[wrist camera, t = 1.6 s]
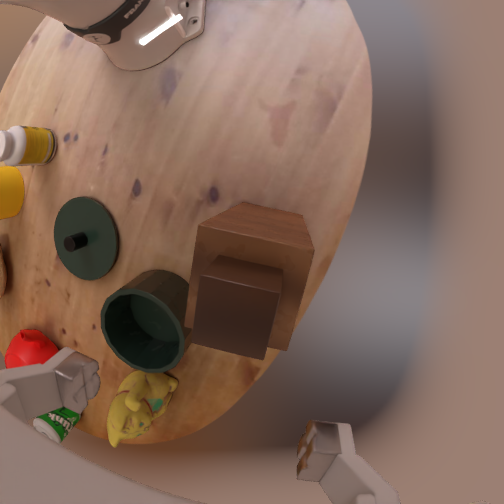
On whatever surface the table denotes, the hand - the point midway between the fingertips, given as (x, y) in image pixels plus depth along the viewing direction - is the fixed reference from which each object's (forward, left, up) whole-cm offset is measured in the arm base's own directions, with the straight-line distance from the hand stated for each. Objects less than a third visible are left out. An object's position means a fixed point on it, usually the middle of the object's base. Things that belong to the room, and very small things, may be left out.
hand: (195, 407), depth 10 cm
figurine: (+29, -14, -32) cm, 45 cm away
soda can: (+48, -36, -32) cm, 68 cm away
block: (0, 0, -12) cm, 12 cm away
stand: (0, 0, -32) cm, 32 cm away
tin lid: (+6, -28, -31) cm, 42 cm away
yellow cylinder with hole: (+1, -50, -32) cm, 59 cm away
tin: (+14, -13, -32) cm, 37 cm away
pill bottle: (-8, -40, -32) cm, 52 cm away
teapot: (+34, -40, -32) cm, 61 cm away
